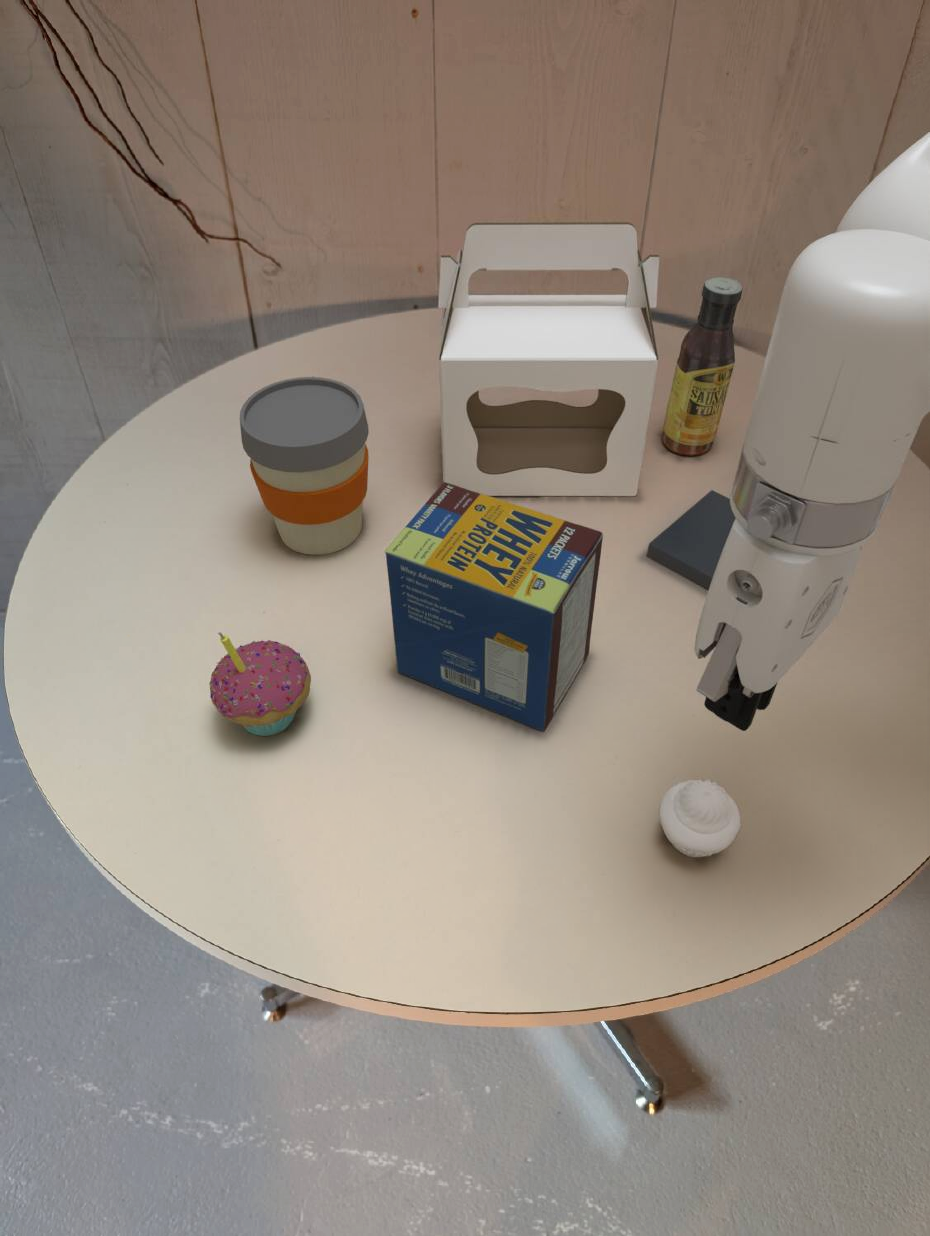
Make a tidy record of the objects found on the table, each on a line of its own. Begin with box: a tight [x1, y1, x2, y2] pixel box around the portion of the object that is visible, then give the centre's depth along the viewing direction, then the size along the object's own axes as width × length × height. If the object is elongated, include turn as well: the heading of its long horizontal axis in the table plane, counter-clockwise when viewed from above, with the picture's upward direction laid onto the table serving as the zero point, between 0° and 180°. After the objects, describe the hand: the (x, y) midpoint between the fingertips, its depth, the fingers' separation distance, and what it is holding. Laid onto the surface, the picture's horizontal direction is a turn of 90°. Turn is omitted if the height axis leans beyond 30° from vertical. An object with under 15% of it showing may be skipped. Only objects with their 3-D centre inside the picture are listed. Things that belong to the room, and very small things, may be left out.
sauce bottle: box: [661, 276, 743, 457], centre depth 102 cm, size 7×6×20 cm
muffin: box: [658, 778, 741, 858], centre depth 70 cm, size 6×6×7 cm
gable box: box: [437, 221, 660, 497], centre depth 97 cm, size 22×13×28 cm, turn 89°
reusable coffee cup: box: [239, 376, 370, 556], centre depth 94 cm, size 12×13×15 cm
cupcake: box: [208, 631, 312, 737], centre depth 77 cm, size 9×8×12 cm
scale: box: [646, 489, 736, 591], centre depth 94 cm, size 15×12×4 cm
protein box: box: [384, 482, 604, 732], centre depth 80 cm, size 10×15×16 cm
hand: (736, 705), depth 60 cm, fingers closed
